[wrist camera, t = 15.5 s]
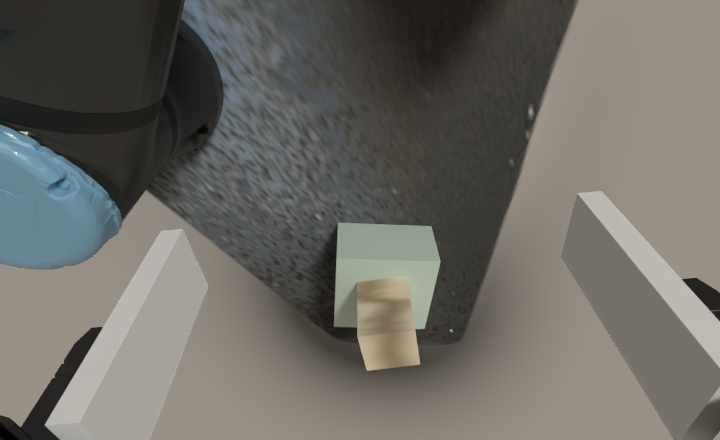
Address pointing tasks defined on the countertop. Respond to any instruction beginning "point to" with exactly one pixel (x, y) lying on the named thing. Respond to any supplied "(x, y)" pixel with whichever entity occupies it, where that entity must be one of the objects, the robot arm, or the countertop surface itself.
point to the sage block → (384, 265)
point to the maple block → (386, 323)
